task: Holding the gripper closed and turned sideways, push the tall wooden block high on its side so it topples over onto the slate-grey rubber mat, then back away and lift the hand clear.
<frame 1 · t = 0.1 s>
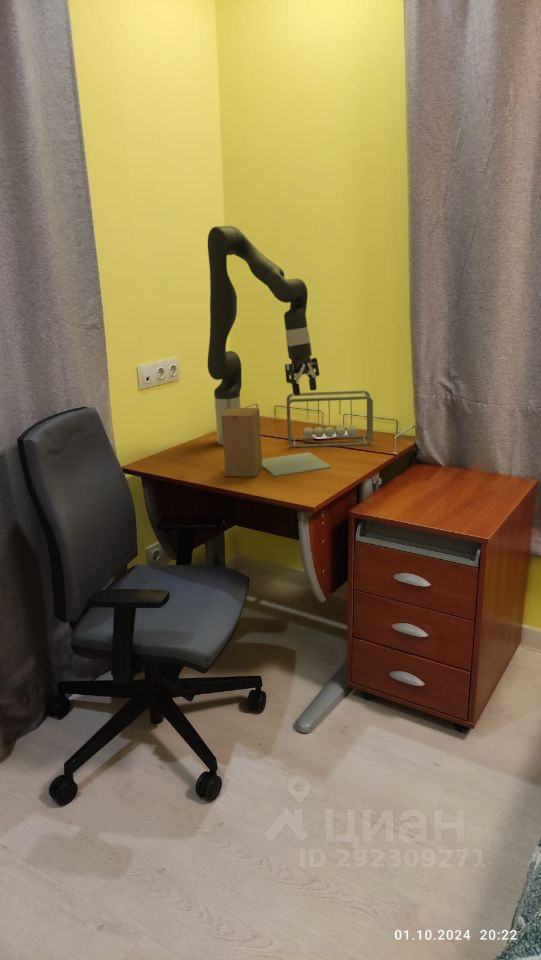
hand: (305, 392, 232), 22 cm above the table, tool pointing down, fingers open, 8 cm apart
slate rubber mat: (292, 464, 233), on the table
wooden block: (244, 472, 228), on the table
newton's cradle: (329, 443, 256), on the table
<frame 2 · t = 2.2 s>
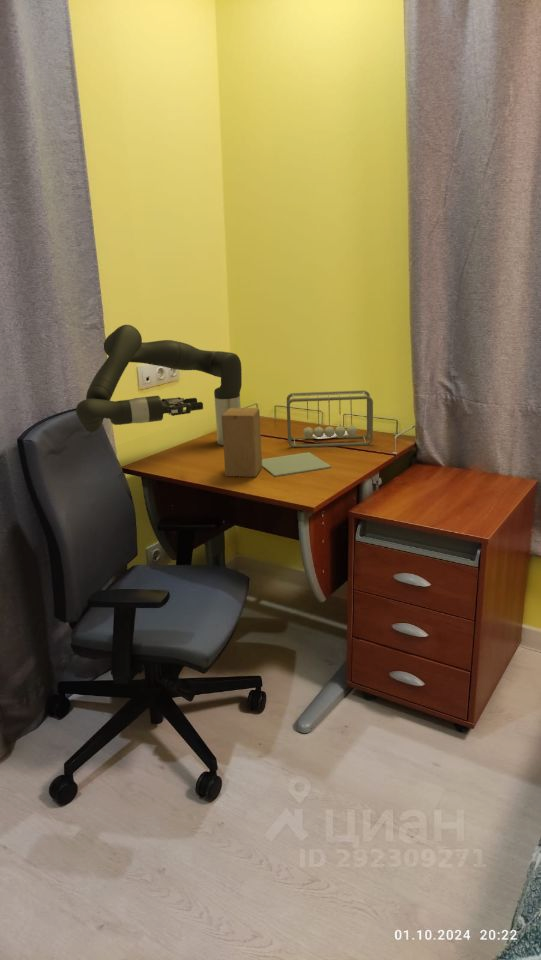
hand: (199, 403, 216), 24 cm above the table, tool horizontal, fingers open, 6 cm apart
nothing on the table moved.
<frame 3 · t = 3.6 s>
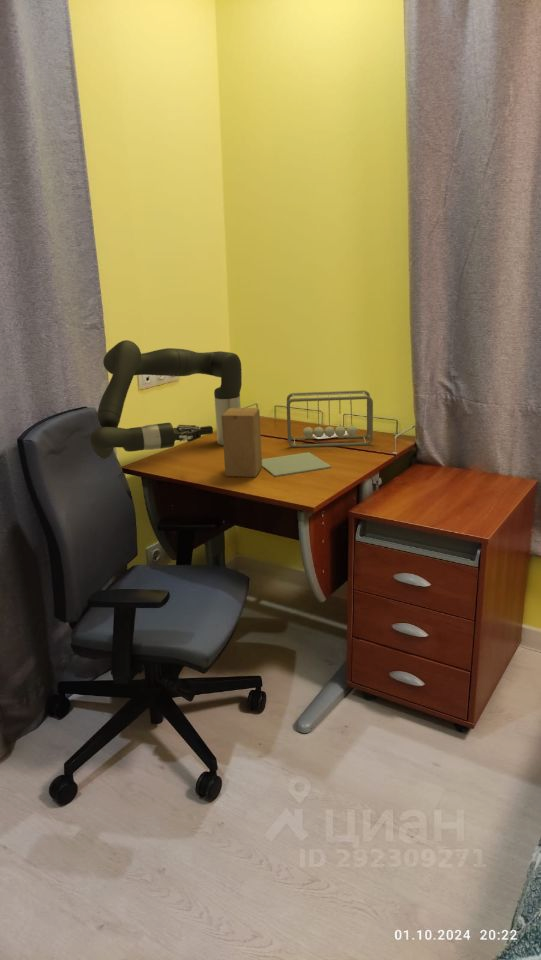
hand: (212, 429, 220), 15 cm above the table, tool horizontal, fingers closed
nothing on the table moved.
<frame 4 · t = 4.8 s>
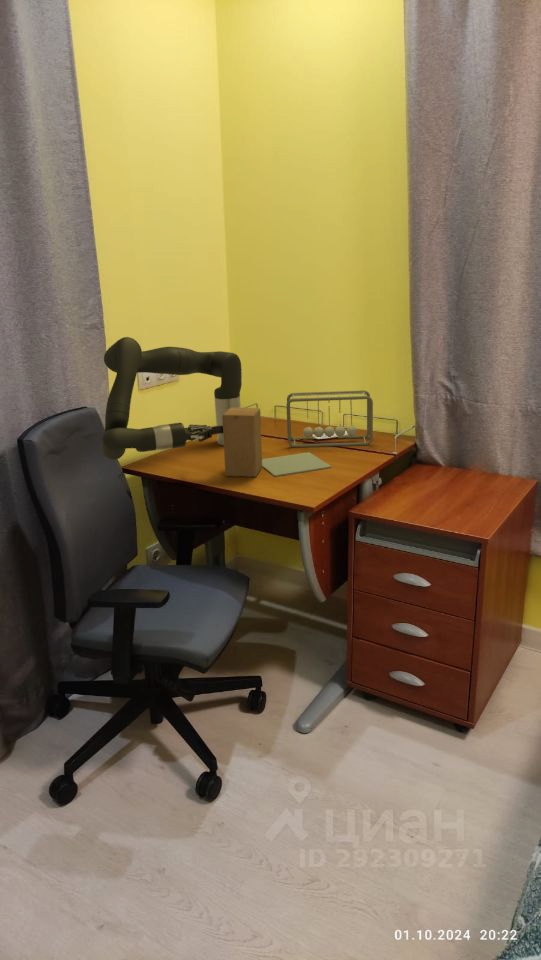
hand: (223, 429, 221), 15 cm above the table, tool horizontal, fingers closed
wooden block: (244, 472, 228), on the table, touching gripper
everything else where it was.
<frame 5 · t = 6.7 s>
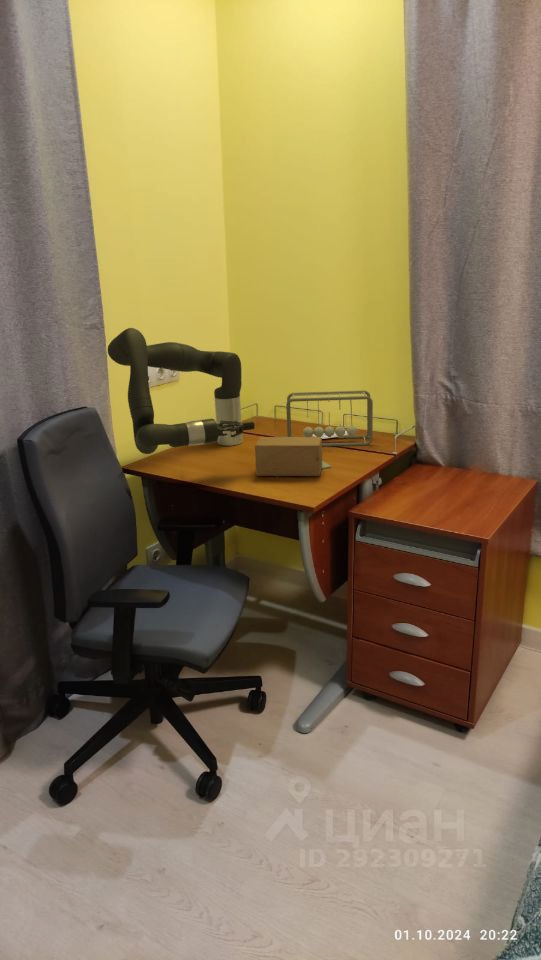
hand: (253, 425, 224), 15 cm above the table, tool horizontal, fingers closed
wooden block: (257, 456, 225), point 6 cm above the table, touching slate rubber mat
everything else where it was.
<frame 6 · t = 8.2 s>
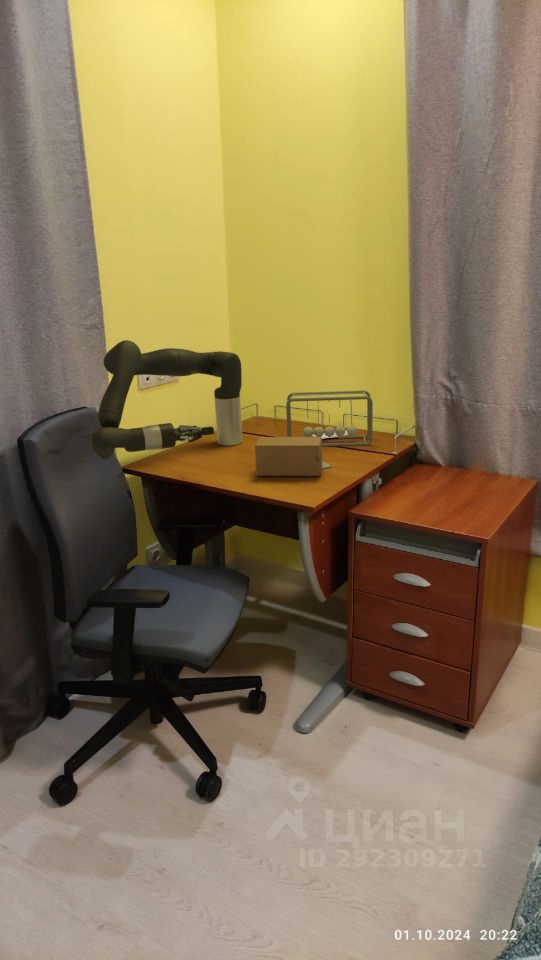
hand: (213, 430, 220), 15 cm above the table, tool horizontal, fingers closed
nothing on the table moved.
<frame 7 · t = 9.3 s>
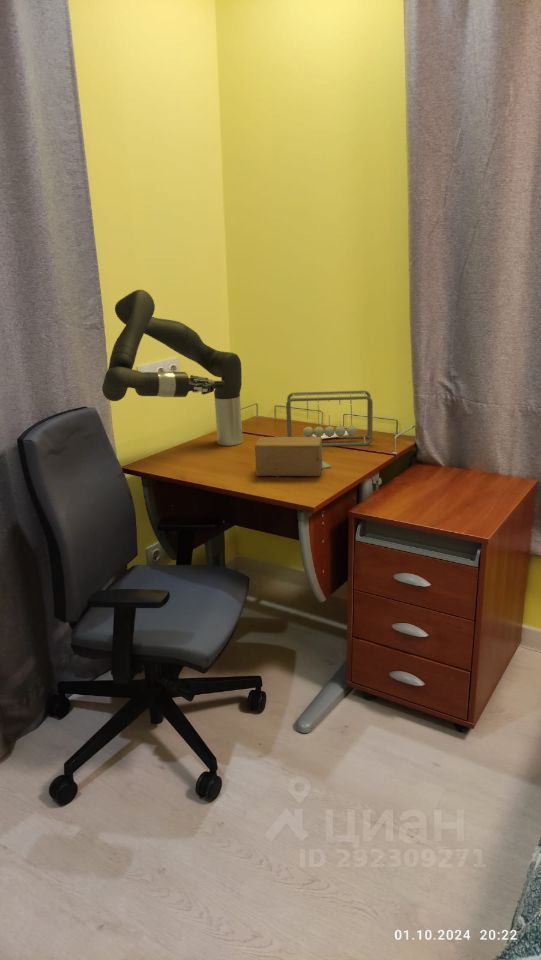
hand: (224, 384, 219), 28 cm above the table, tool horizontal, fingers closed
nothing on the table moved.
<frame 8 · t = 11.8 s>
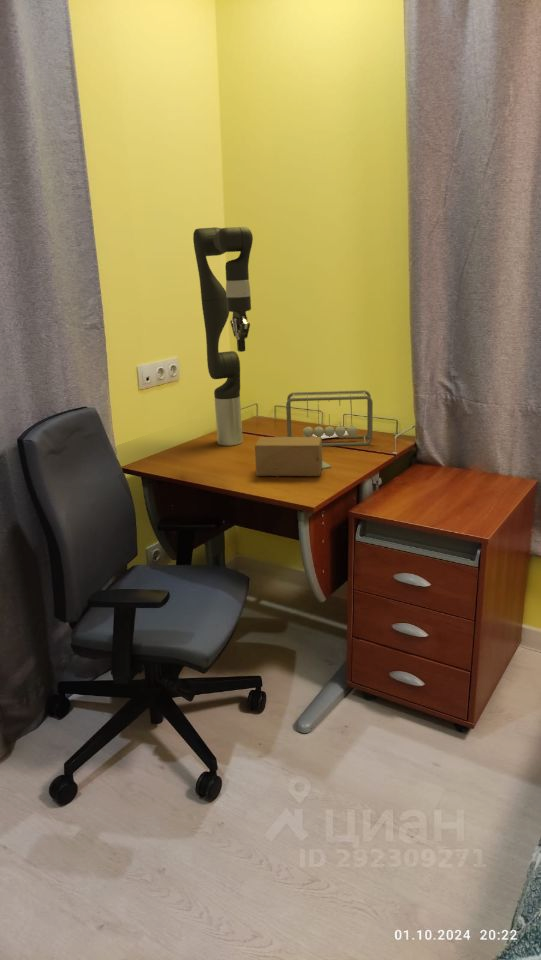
hand: (241, 351, 226), 37 cm above the table, tool pointing down, fingers closed
nothing on the table moved.
at the end: wooden block tilted 90°; wooden block inside the target area (7.6 cm from its centre), point 5.5 cm above the table; wooden block touching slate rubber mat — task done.
